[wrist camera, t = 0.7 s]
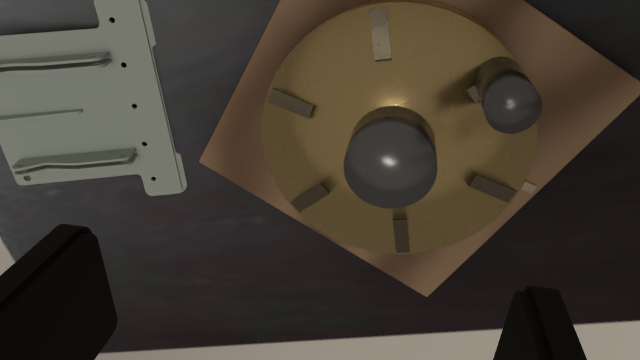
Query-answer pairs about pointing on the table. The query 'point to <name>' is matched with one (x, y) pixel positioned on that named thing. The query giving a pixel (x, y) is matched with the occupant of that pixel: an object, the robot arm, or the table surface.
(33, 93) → the metal bracket
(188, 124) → the table surface
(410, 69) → the rotary dial
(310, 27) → the base plate
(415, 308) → the table surface
